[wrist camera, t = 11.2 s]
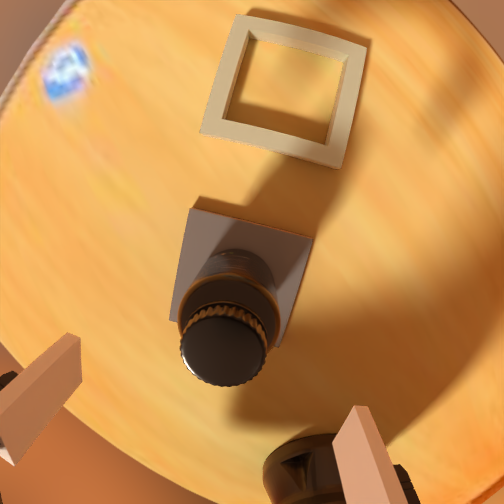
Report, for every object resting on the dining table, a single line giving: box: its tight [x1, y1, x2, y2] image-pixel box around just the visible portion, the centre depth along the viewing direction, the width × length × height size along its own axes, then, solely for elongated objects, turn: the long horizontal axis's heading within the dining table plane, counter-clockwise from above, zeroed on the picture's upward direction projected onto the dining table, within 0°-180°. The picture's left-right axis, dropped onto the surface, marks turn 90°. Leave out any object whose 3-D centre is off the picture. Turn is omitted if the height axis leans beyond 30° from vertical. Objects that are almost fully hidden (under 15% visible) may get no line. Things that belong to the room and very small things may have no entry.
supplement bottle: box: [177, 249, 281, 387], centre depth 22 cm, size 7×7×12 cm
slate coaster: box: [169, 207, 313, 347], centre depth 28 cm, size 11×11×1 cm
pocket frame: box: [199, 14, 367, 169], centre depth 23 cm, size 12×12×2 cm
